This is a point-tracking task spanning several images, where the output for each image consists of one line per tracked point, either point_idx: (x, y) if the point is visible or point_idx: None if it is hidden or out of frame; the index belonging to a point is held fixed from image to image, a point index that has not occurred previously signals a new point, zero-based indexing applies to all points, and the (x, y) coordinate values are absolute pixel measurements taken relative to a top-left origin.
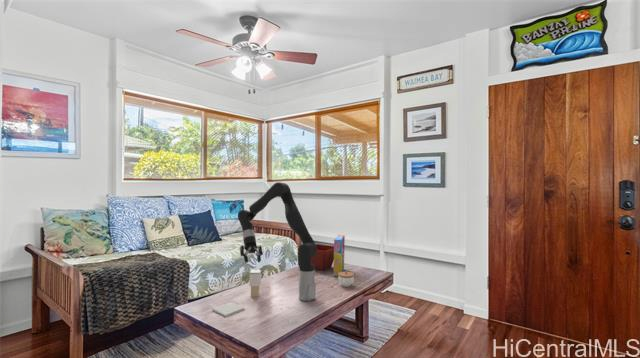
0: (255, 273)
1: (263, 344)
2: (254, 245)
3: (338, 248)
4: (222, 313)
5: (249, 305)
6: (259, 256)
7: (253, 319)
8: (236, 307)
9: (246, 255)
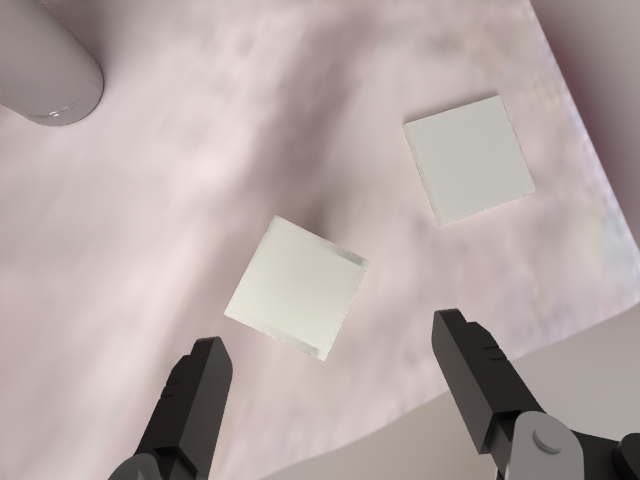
0: (316, 236)
1: None
2: None
3: None
4: (507, 116)
5: (368, 159)
6: (169, 425)
7: (399, 16)
8: (438, 145)
9: (516, 420)
